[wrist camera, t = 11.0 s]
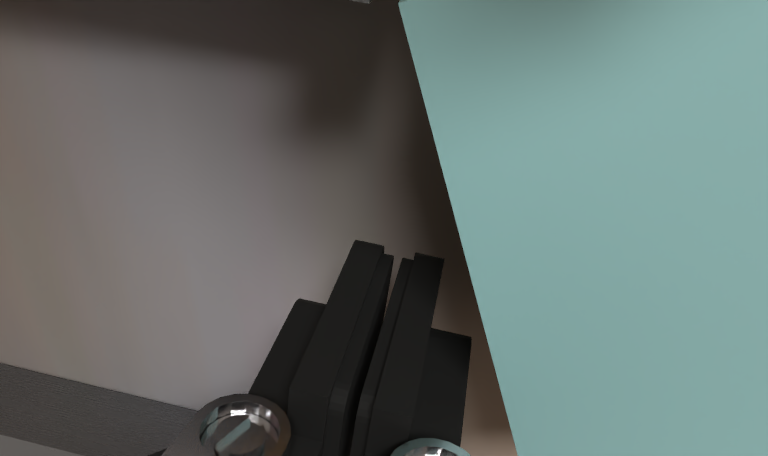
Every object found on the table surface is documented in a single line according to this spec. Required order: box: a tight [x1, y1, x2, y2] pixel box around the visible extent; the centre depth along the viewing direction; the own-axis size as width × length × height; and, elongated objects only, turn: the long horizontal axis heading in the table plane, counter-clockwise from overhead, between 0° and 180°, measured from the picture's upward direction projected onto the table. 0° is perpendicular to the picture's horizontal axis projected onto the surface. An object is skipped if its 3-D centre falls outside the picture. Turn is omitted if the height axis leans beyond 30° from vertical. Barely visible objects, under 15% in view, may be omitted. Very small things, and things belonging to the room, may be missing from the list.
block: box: [398, 0, 768, 456], centre depth 9 cm, size 7×7×4 cm
